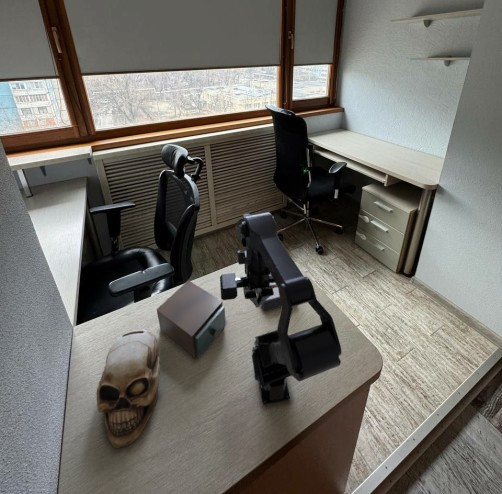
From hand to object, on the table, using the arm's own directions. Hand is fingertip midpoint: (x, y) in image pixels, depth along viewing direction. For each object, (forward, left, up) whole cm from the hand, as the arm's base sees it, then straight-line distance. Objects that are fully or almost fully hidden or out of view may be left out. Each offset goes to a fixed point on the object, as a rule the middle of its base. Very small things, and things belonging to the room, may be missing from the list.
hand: (257, 305), depth 70 cm
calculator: (+16, -8, -13) cm, 22 cm away
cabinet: (+6, +18, -13) cm, 23 cm away
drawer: (+5, +16, -12) cm, 21 cm away
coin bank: (-8, +31, -13) cm, 35 cm away
